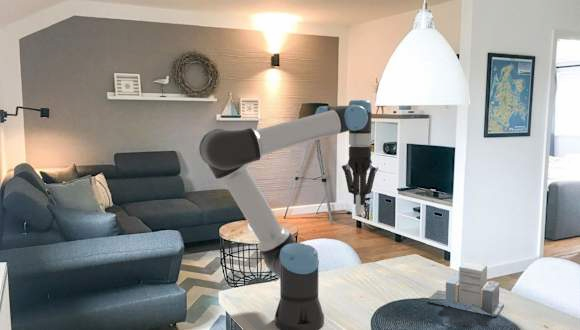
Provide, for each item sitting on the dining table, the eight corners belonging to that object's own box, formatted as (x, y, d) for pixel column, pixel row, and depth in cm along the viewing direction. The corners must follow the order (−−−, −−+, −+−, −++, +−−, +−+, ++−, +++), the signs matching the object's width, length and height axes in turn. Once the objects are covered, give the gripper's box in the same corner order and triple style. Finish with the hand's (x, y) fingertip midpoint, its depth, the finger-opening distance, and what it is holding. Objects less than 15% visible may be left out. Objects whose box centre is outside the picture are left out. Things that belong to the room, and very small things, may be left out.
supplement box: (464, 297, 165) (465, 261, 164) (486, 301, 161) (488, 264, 160) (457, 303, 159) (458, 266, 158) (480, 308, 155) (482, 270, 154)
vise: (496, 317, 151) (497, 293, 150) (427, 302, 163) (427, 279, 162) (503, 306, 160) (504, 282, 159) (437, 292, 172) (438, 270, 171)
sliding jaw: (456, 304, 158) (457, 284, 157) (445, 302, 160) (445, 282, 159) (464, 295, 166) (465, 276, 166) (454, 293, 168) (454, 274, 168)
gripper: (382, 145, 164) (381, 214, 166) (348, 144, 171) (347, 210, 174) (372, 147, 158) (371, 217, 160) (337, 145, 165) (337, 213, 168)
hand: (359, 213), depth 167 cm, fingers closed
